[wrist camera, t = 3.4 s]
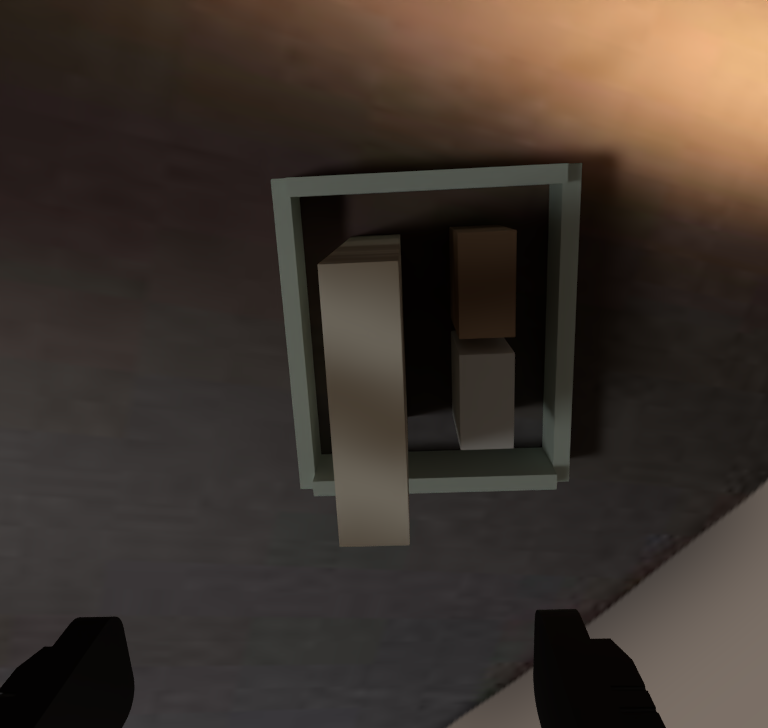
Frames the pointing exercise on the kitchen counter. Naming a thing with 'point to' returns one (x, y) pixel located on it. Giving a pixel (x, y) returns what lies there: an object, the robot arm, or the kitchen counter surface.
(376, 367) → the birch sheet
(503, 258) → the walnut offcut
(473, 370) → the grey offcut
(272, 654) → the kitchen counter surface
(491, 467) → the bin
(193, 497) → the kitchen counter surface
